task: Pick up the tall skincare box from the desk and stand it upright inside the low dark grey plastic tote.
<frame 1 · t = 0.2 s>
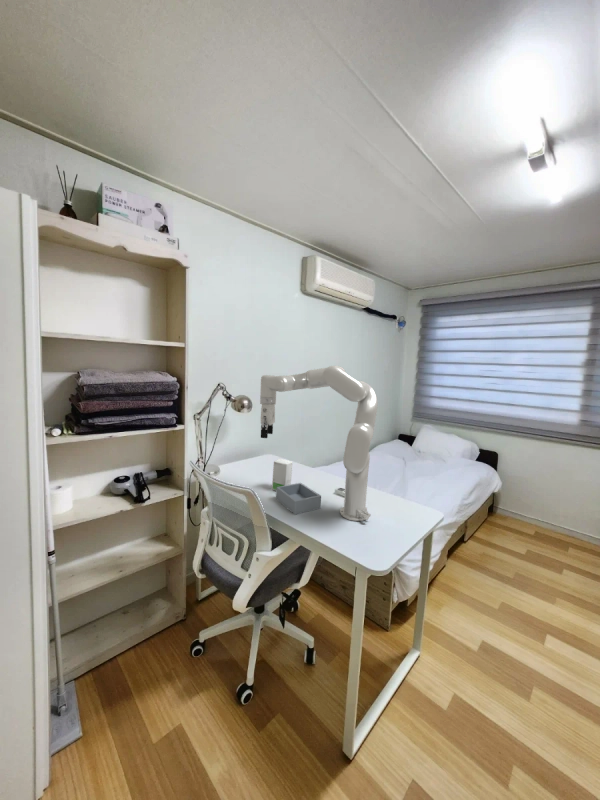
hand: (266, 435, 149), 31 cm above the table, tool pointing down, fingers open, 9 cm apart
tote: (297, 503, 147), on the table
skincare box: (281, 490, 162), on the table
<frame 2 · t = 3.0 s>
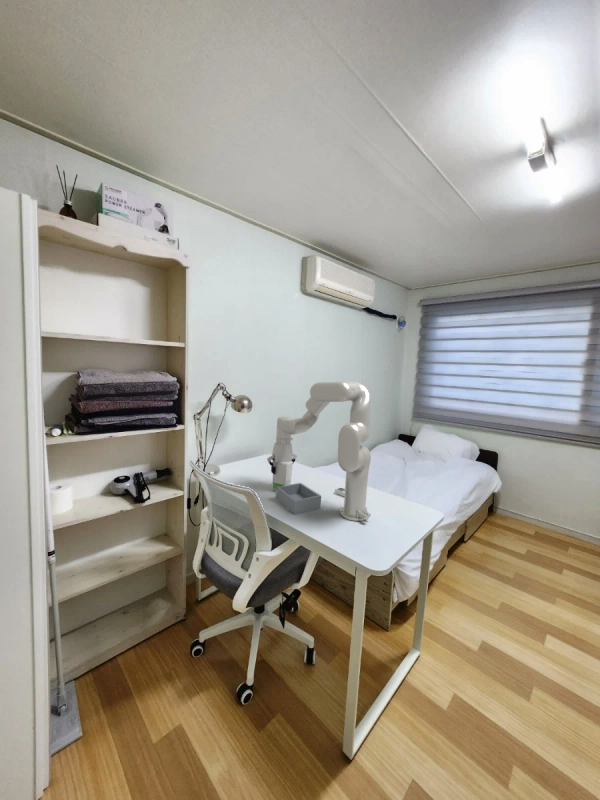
hand: (281, 472, 162), 9 cm above the table, tool pointing down, fingers open, 9 cm apart
skincare box: (281, 490, 162), on the table, touching gripper
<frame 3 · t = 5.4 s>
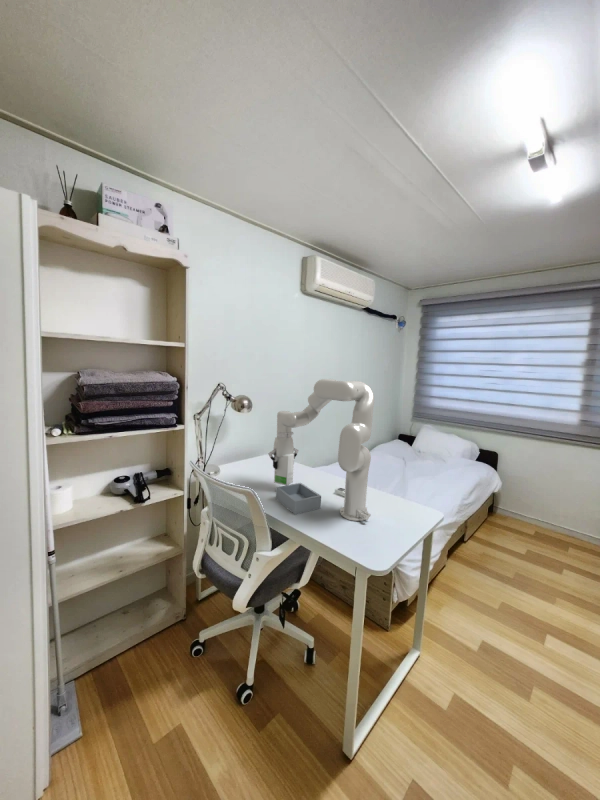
hand: (283, 467, 161), 12 cm above the table, tool pointing down, fingers closed on skincare box, 9 cm apart
skincare box: (284, 482, 161), point 4 cm above the table, touching gripper
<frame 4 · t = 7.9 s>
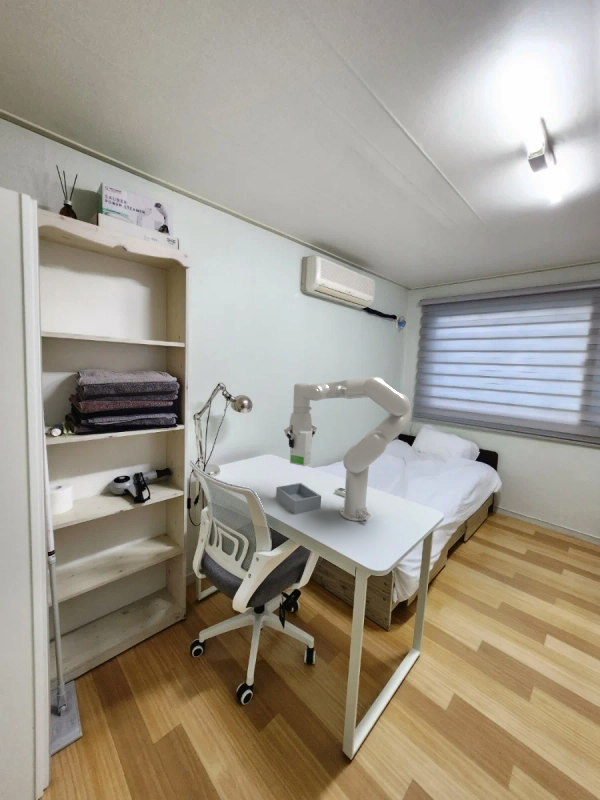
hand: (300, 446, 144), 28 cm above the table, tool pointing down, fingers closed on skincare box, 9 cm apart
skincare box: (300, 463, 145), point 20 cm above the table, touching gripper
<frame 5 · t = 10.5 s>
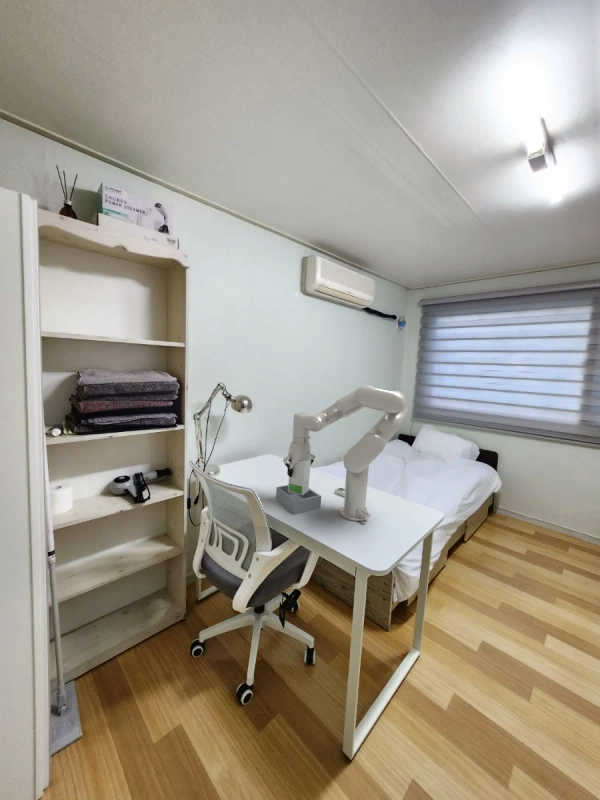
hand: (298, 474, 145), 14 cm above the table, tool pointing down, fingers closed on skincare box, 9 cm apart
skincare box: (298, 491, 146), point 6 cm above the table, touching gripper
when the fingers open (10 cm above the table, at t = 12.6 s): skincare box stays where it is, resting on tote.
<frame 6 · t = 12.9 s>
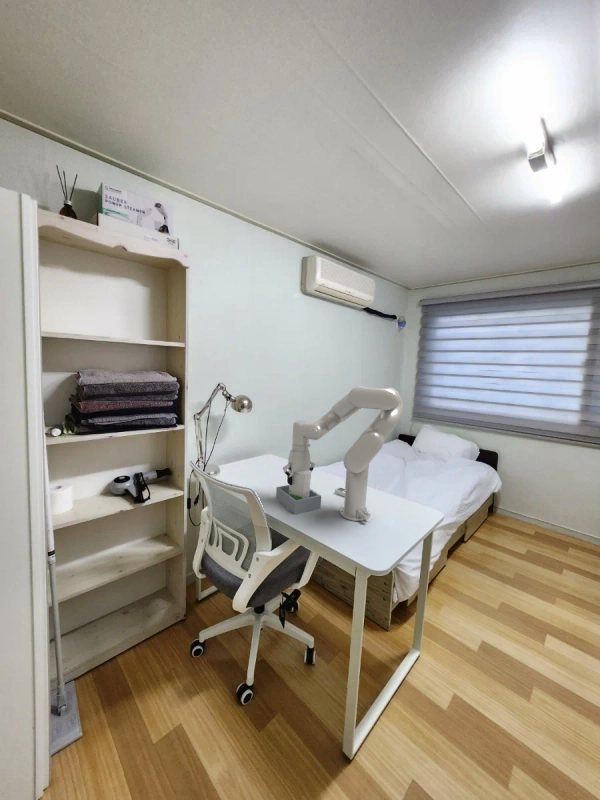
hand: (298, 482, 146), 10 cm above the table, tool pointing down, fingers open, 9 cm apart
skincare box: (299, 502, 146), point 1 cm above the table, touching gripper, tote
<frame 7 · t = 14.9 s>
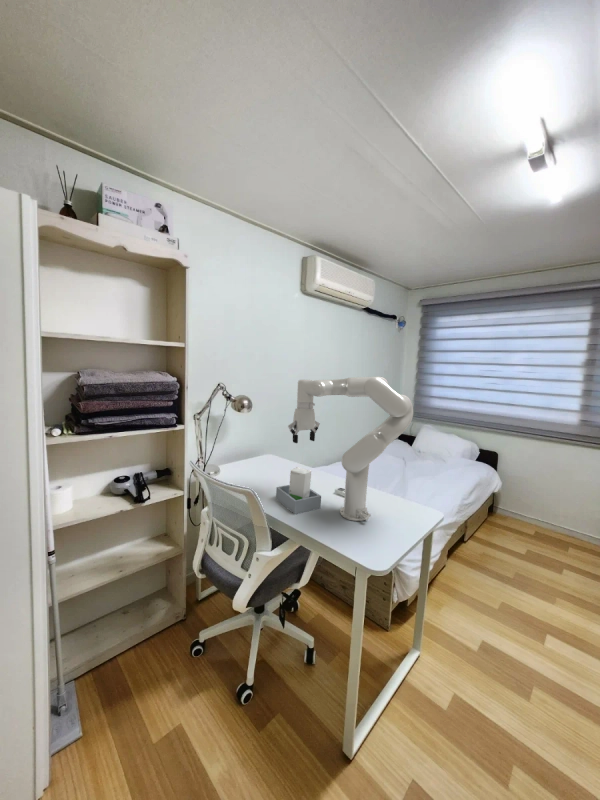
hand: (303, 441, 146), 30 cm above the table, tool pointing down, fingers open, 9 cm apart
skincare box: (299, 502, 146), point 1 cm above the table, touching tote
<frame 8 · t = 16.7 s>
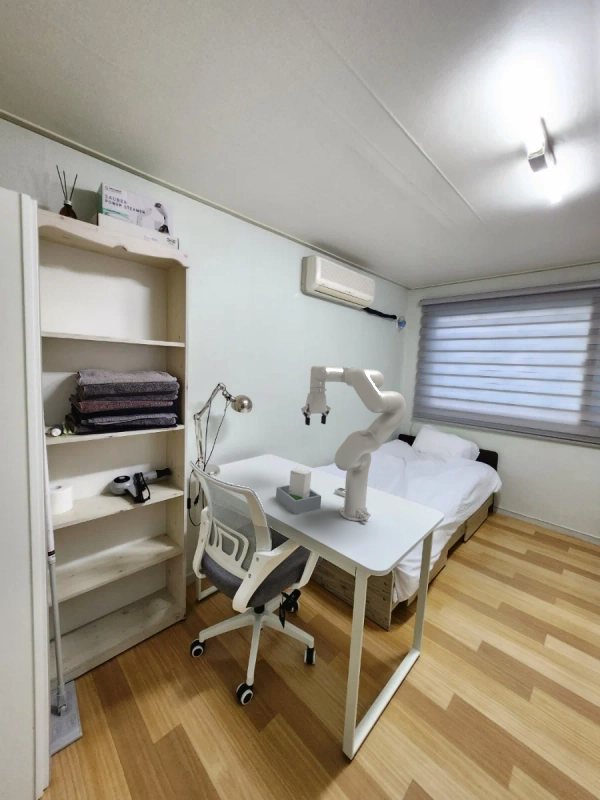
hand: (315, 424, 156), 36 cm above the table, tool pointing down, fingers open, 9 cm apart
nothing on the table moved.
at the end: skincare box inside the target area on the tote (0.7 cm from its centre), point 0.8 cm above the tote's base; skincare box tilted 0°; the gripper is holding nothing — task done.
